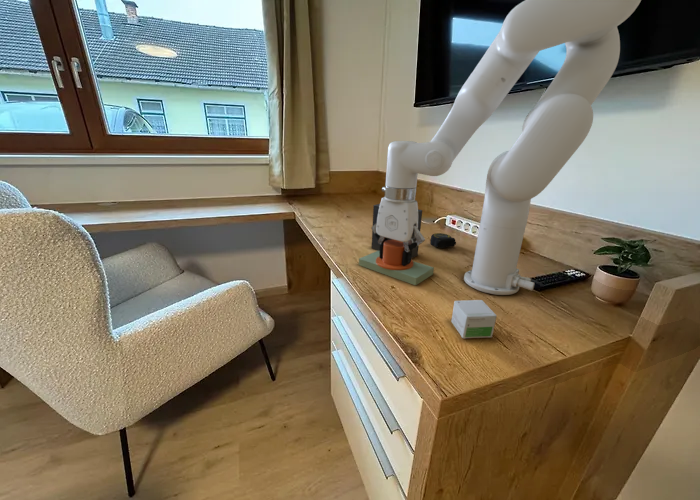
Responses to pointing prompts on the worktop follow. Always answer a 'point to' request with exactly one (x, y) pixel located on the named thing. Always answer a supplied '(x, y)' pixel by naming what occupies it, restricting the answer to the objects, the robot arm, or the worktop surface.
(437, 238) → the tape measure
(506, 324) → the worktop surface
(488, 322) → the small box
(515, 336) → the worktop surface
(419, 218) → the dark upright block
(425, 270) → the stand
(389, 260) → the hat
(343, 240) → the worktop surface
